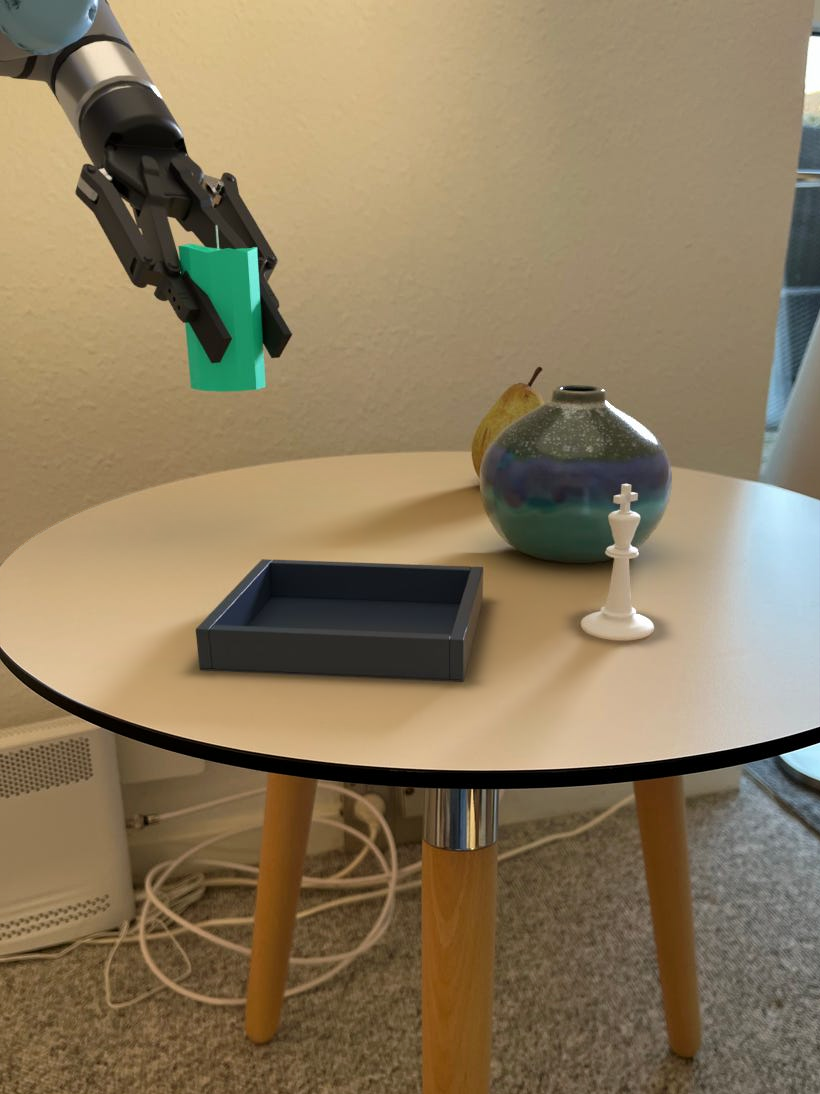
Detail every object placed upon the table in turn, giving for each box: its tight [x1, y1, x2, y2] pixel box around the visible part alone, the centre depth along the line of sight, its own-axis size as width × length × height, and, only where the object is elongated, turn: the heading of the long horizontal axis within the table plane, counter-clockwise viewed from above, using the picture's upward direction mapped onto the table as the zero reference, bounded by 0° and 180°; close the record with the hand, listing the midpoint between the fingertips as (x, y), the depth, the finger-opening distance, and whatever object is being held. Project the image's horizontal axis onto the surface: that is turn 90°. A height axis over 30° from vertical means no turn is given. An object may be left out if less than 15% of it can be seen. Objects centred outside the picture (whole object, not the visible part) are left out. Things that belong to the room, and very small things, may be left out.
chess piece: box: [580, 484, 655, 642], centre depth 65 cm, size 5×5×10 cm
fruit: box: [471, 366, 546, 480], centre depth 103 cm, size 9×9×12 cm
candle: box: [178, 225, 267, 393], centre depth 79 cm, size 6×6×12 cm
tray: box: [195, 558, 484, 683], centre depth 65 cm, size 16×14×3 cm
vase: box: [478, 384, 673, 564], centre depth 81 cm, size 15×15×13 cm
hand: (252, 348), depth 78 cm, fingers closed on candle, 5 cm apart
